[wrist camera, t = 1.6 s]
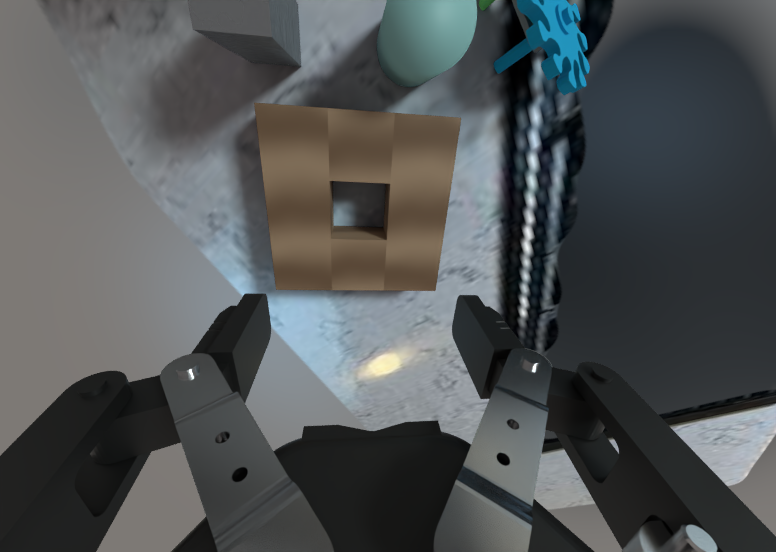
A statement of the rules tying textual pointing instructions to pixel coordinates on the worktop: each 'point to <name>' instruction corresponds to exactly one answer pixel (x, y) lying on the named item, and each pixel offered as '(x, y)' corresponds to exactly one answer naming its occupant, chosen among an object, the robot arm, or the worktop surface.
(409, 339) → the worktop surface
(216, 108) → the worktop surface
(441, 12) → the round peg
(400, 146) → the socket block
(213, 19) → the square peg
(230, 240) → the worktop surface
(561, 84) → the gear
